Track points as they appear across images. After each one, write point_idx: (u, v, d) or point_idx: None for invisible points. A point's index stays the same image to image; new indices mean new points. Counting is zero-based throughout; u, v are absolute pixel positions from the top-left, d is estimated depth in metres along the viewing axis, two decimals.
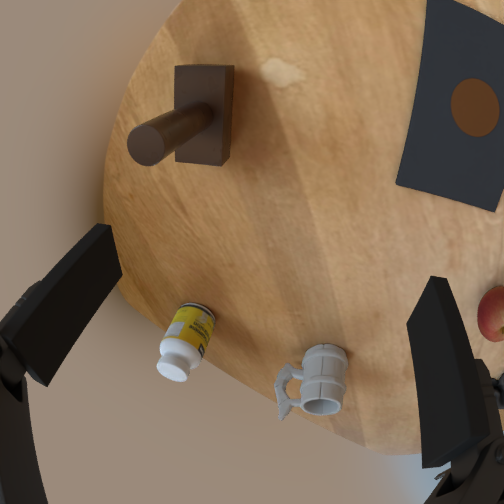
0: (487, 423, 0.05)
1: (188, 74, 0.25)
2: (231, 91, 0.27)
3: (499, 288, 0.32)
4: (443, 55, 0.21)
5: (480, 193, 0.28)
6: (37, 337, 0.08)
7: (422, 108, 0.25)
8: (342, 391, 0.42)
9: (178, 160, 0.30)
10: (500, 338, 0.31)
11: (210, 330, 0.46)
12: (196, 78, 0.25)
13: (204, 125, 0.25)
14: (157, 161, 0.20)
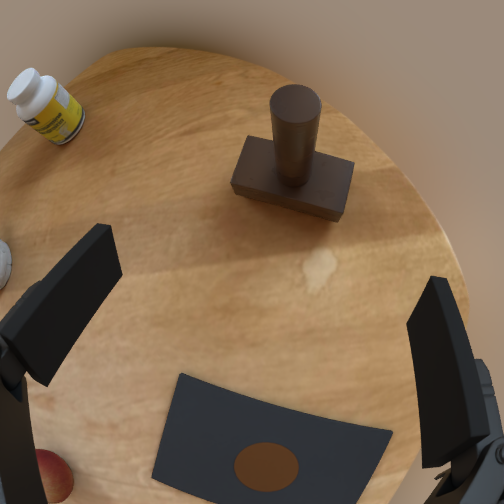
0: (487, 423, 0.05)
1: (342, 173, 0.26)
2: (310, 212, 0.28)
3: (71, 476, 0.25)
4: (323, 440, 0.25)
5: (170, 464, 0.26)
6: (37, 337, 0.08)
7: (265, 412, 0.26)
8: None
9: (248, 138, 0.27)
10: None
11: (49, 136, 0.32)
12: (335, 180, 0.26)
13: (284, 174, 0.24)
14: (273, 110, 0.16)
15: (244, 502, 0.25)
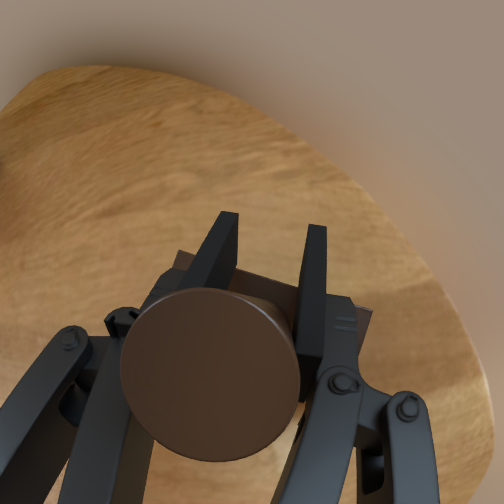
0: (321, 346, 0.08)
1: None
2: None
3: None
4: None
5: None
6: None
7: None
8: None
9: (178, 257, 0.15)
10: None
11: None
12: None
13: None
14: (130, 402, 0.05)
15: None
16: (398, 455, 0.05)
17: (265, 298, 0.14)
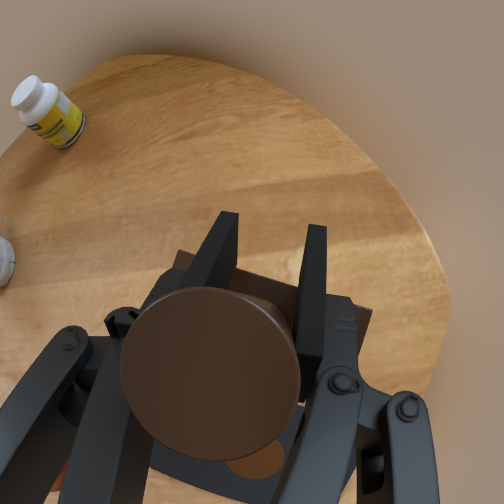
0: (321, 346, 0.08)
1: None
2: None
3: None
4: None
5: (164, 452, 0.28)
6: None
7: None
8: None
9: (178, 257, 0.15)
10: None
11: (51, 141, 0.34)
12: None
13: None
14: (131, 401, 0.05)
15: (233, 489, 0.27)
16: (398, 455, 0.05)
17: (265, 298, 0.14)
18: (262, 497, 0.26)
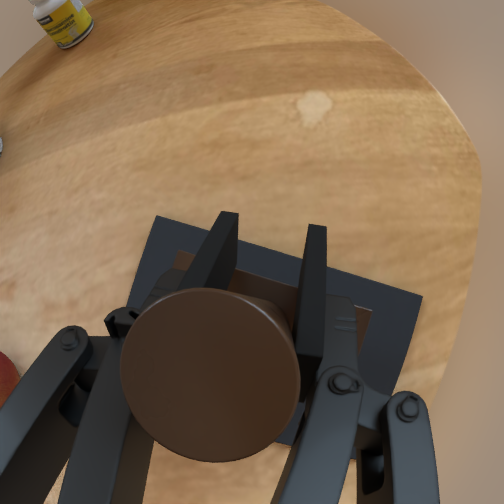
0: (321, 346, 0.08)
1: None
2: None
3: (17, 382, 0.22)
4: None
5: None
6: None
7: (257, 257, 0.23)
8: None
9: (178, 257, 0.15)
10: None
11: (59, 37, 0.28)
12: None
13: None
14: (130, 402, 0.05)
15: None
16: (398, 455, 0.05)
17: (265, 298, 0.14)
18: None
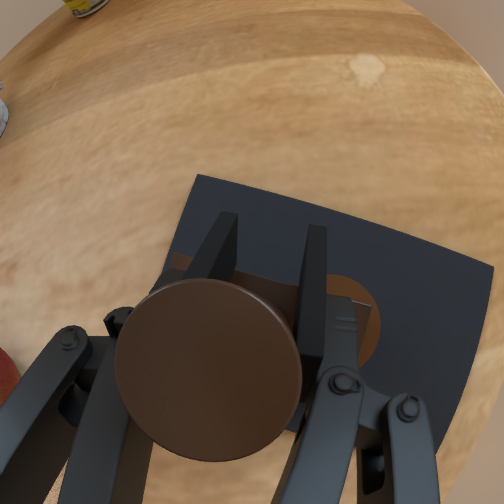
0: (321, 346, 0.08)
1: None
2: None
3: (16, 382, 0.18)
4: (412, 270, 0.18)
5: None
6: None
7: (324, 220, 0.19)
8: None
9: (174, 260, 0.15)
10: None
11: (76, 4, 0.25)
12: None
13: None
14: (126, 402, 0.04)
15: None
16: (398, 455, 0.05)
17: (263, 297, 0.14)
18: None
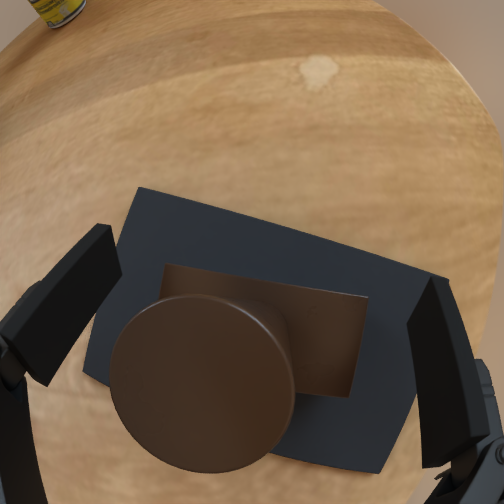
0: (487, 423, 0.05)
1: (347, 325, 0.14)
2: None
3: None
4: (349, 283, 0.18)
5: (109, 342, 0.19)
6: (37, 337, 0.08)
7: (255, 232, 0.19)
8: None
9: (166, 270, 0.15)
10: None
11: (49, 16, 0.24)
12: (334, 340, 0.14)
13: None
14: (125, 421, 0.04)
15: None
16: None
17: (258, 299, 0.14)
18: None
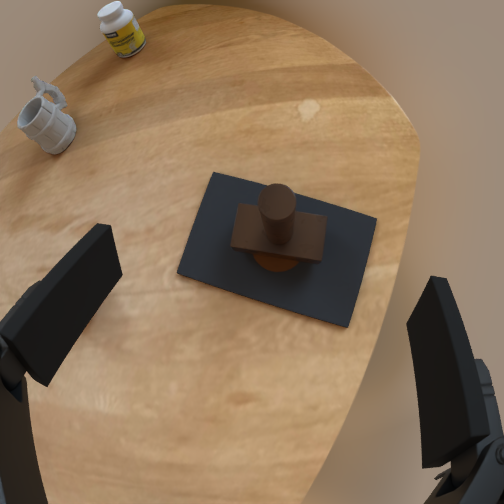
0: (487, 423, 0.05)
1: (318, 227, 0.33)
2: (295, 260, 0.35)
3: None
4: None
5: (196, 252, 0.38)
6: (37, 337, 0.08)
7: None
8: (35, 132, 0.37)
9: (239, 206, 0.35)
10: None
11: (120, 49, 0.44)
12: (313, 234, 0.33)
13: (273, 239, 0.31)
14: (261, 210, 0.24)
15: (258, 287, 0.37)
16: None
17: None
18: (286, 294, 0.36)
